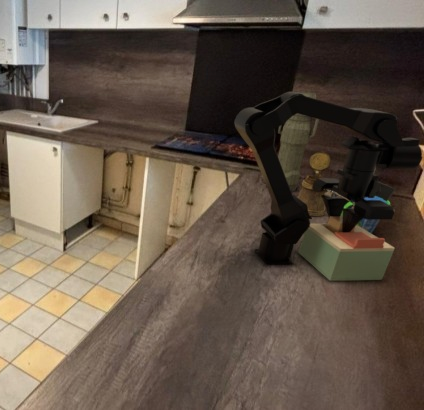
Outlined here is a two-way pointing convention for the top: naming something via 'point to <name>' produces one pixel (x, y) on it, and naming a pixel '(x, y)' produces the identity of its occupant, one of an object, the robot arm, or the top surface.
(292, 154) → the thermos
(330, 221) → the block
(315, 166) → the wooden mug
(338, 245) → the lid
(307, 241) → the green box
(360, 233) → the slider
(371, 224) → the snack cup
